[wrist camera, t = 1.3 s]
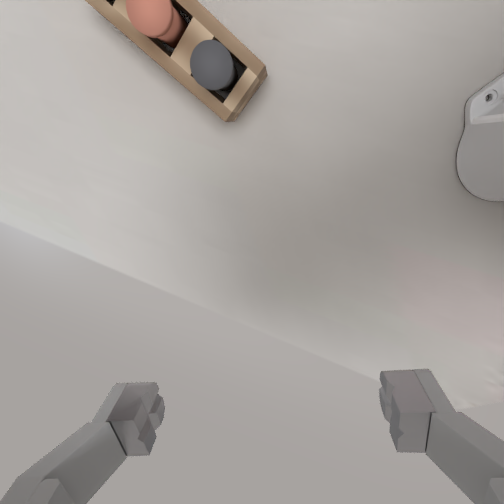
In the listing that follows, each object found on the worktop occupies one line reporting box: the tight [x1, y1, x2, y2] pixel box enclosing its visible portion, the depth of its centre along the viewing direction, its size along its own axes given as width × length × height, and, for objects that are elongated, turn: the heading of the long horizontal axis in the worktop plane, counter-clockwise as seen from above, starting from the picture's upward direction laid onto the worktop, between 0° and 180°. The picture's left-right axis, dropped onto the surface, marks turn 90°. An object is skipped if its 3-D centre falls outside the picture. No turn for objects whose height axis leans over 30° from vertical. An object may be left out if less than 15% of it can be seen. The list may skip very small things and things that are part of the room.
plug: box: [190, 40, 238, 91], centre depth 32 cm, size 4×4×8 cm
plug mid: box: [126, 0, 188, 48], centre depth 30 cm, size 4×4×8 cm
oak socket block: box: [85, 0, 267, 122], centre depth 34 cm, size 7×21×8 cm, turn 51°
